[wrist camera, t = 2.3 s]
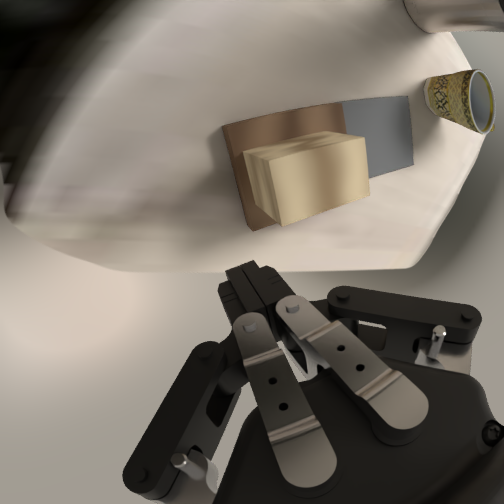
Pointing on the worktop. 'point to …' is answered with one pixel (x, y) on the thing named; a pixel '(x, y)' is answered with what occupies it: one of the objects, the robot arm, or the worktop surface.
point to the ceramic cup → (463, 99)
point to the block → (308, 175)
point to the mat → (382, 131)
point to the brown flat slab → (273, 131)
